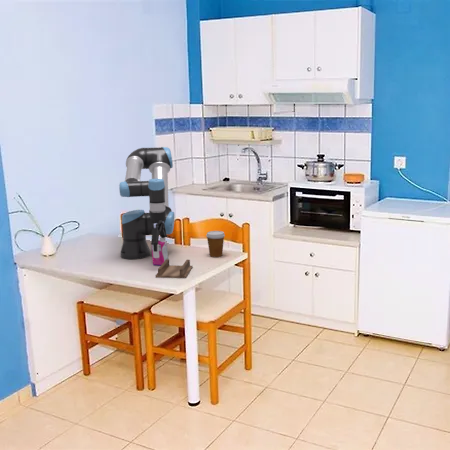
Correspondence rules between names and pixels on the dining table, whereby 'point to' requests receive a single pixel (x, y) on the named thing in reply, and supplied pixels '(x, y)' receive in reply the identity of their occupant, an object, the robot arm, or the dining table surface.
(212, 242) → the disposable coffee cup
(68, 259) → the dining table surface
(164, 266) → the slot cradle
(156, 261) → the supplement box
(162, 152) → the robot arm
